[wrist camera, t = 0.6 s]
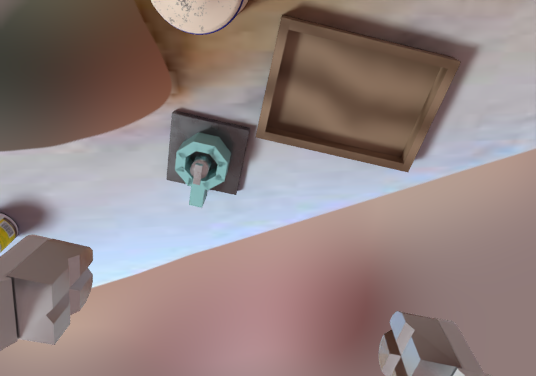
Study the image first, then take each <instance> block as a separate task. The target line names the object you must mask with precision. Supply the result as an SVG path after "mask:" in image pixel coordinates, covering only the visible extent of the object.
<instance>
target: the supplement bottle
mask: <svg viewBox="0 0 536 376" xmlns="http://www.w3.org/2000/svg"><path fill="white" fill-rule="evenodd" d="M17 235H18V227H17V225H16V223H15V222H14V221H13V220H12V219H11V218H10V217H8V216H6V215H4V214H1V213H0V252H1V251H2V250H3V249H4V248H6V247H7V246H8V245H9V244H10V243H11V242H12V241H13V240H14V239H15V238H16V237H17Z"/></svg>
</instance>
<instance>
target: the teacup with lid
mask: <svg viewBox="0 0 536 376" xmlns="http://www.w3.org/2000/svg"><path fill="white" fill-rule="evenodd" d="M151 2H152V3H153V5H154V7H155V8H156V10H157V11H158V12H159V14H160V15H161V16H162V17H163V18H164V19H165V20H166V21H167V22H168V23H170V24H171V25H172V26H174V27H176V28H177V29H179V30H181V31H184V32H187V33H191V34H197V35H203V34H210V33H214V32H216V31H219V30H221V29H222V28H224V27H225V26H227V25H228V24H229V23H230V22H231V21H232V20H233V19H234V18H235V17H236V15H237V14H238V13H239V12H241V10H242V9H243V8H244V7H245V5H246V4H247V2H248V0H151Z"/></svg>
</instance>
